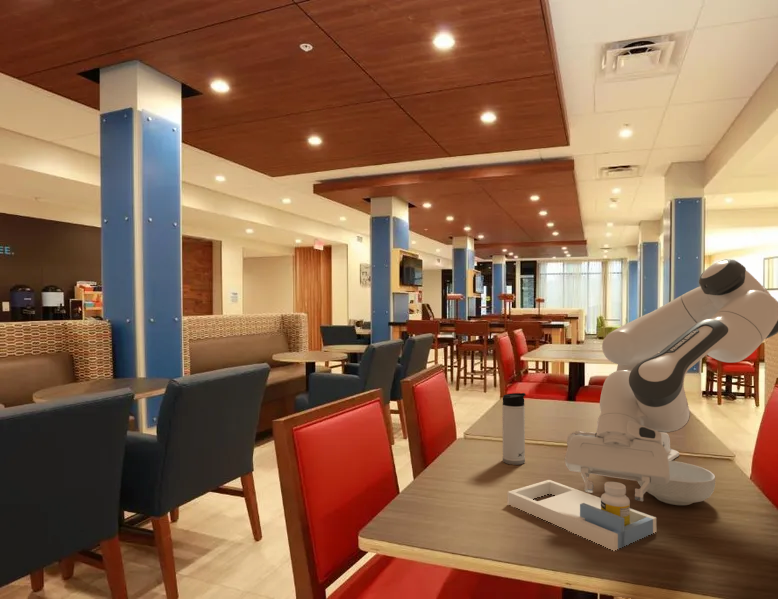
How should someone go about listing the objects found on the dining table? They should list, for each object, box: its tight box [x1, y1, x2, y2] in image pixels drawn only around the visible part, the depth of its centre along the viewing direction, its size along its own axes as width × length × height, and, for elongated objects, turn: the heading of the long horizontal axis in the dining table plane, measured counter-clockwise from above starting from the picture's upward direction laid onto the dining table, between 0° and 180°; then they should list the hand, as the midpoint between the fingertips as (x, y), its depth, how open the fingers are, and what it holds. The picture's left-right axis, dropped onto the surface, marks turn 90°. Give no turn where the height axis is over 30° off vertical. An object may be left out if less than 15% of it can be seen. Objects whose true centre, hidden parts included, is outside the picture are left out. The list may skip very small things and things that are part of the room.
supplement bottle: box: [600, 481, 631, 526], centre depth 106 cm, size 5×5×10 cm
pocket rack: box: [507, 479, 657, 552], centre depth 114 cm, size 14×27×6 cm, turn 33°
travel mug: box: [502, 392, 527, 466], centre depth 153 cm, size 6×7×20 cm
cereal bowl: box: [636, 460, 716, 506], centre depth 124 cm, size 17×17×7 cm
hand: (613, 495), depth 107 cm, fingers open, 8 cm apart
